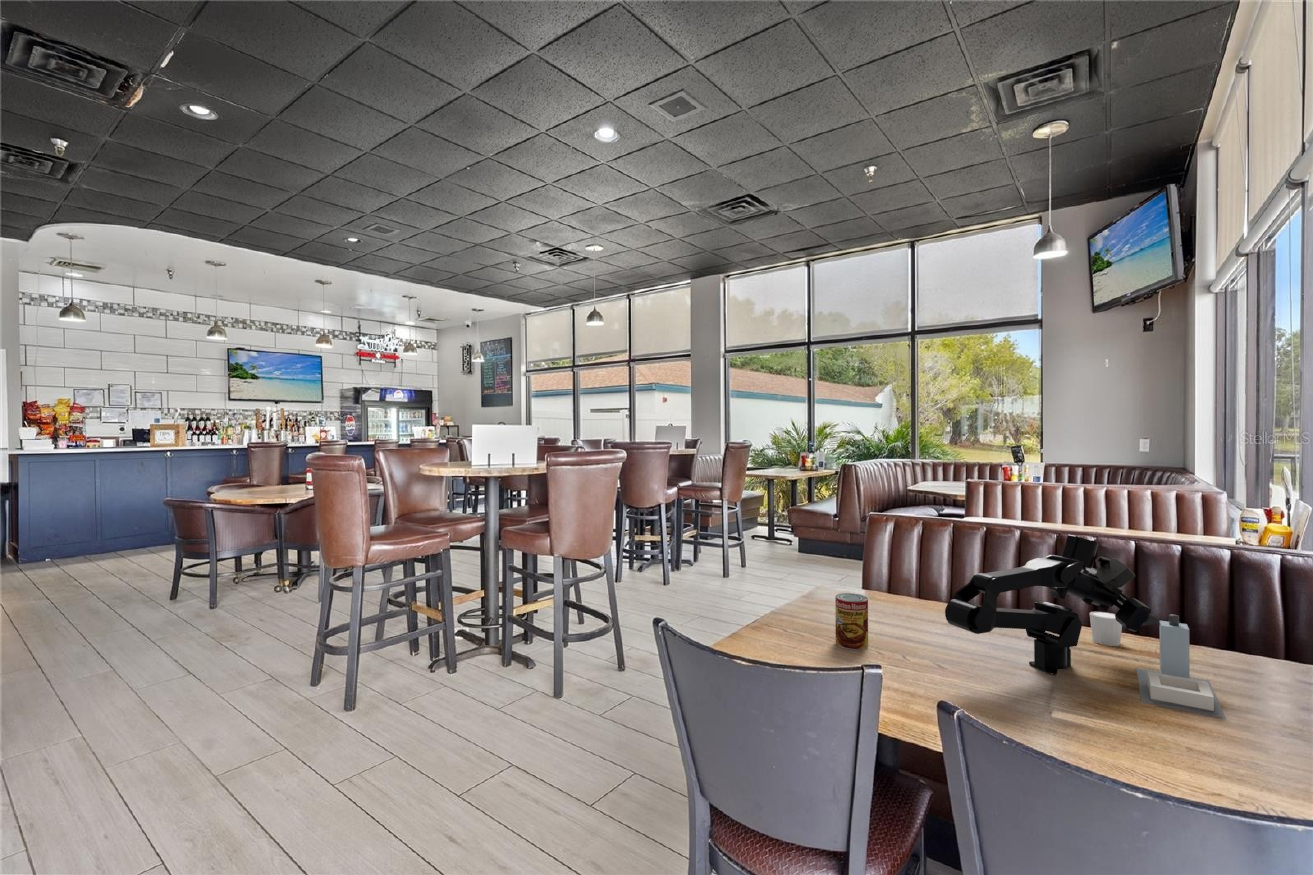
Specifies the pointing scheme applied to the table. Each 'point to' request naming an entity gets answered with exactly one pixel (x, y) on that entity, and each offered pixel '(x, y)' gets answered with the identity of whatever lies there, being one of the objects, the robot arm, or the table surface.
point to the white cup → (1105, 628)
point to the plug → (1174, 648)
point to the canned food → (851, 621)
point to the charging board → (1145, 698)
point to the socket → (1180, 692)
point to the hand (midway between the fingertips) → (1142, 610)
